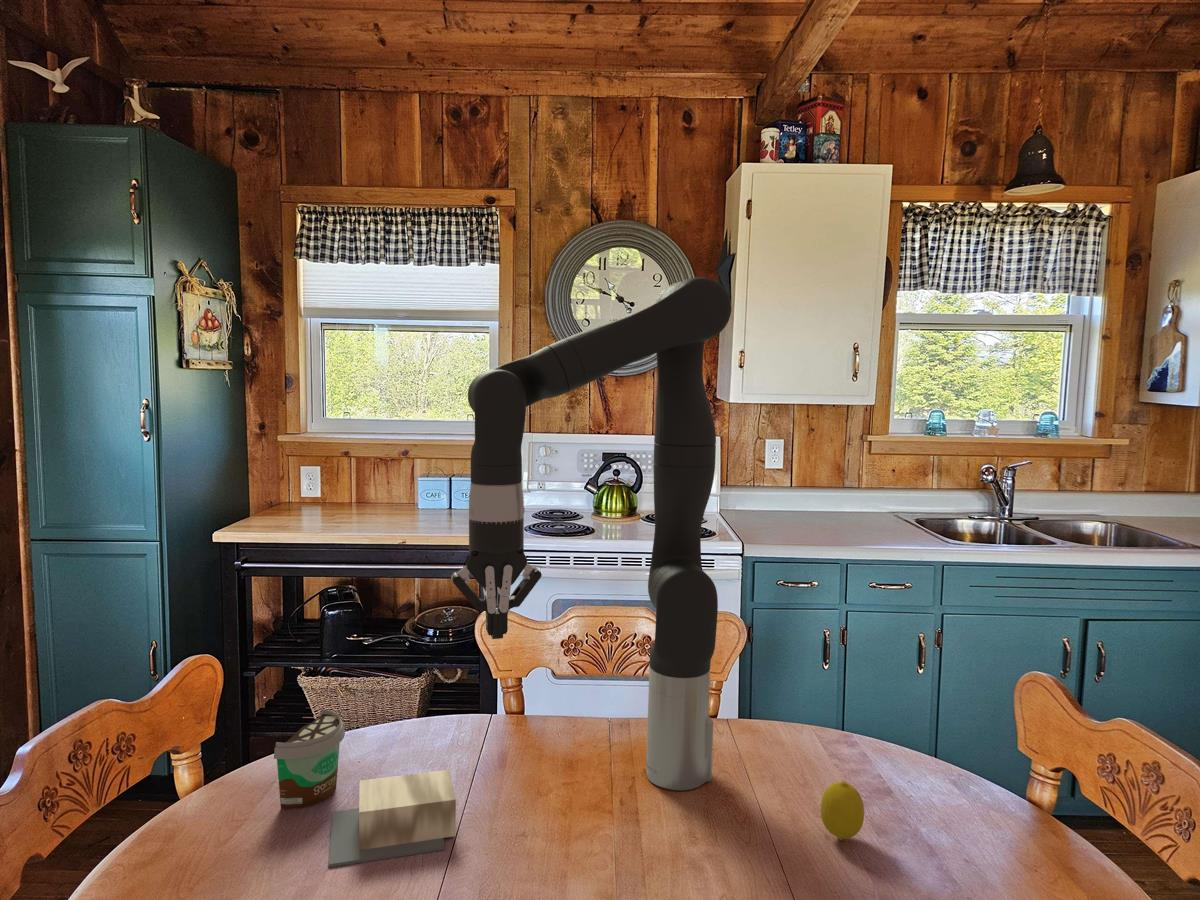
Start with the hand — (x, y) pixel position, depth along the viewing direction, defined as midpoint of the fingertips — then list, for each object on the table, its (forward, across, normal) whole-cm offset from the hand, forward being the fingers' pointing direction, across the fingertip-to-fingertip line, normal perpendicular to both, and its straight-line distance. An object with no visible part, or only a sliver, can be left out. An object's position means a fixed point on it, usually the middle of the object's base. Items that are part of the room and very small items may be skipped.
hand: (496, 637), depth 107 cm
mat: (+24, +15, +4) cm, 29 cm away
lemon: (+25, -43, +21) cm, 54 cm away
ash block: (+21, +7, +4) cm, 22 cm away
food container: (+24, +24, -8) cm, 35 cm away
